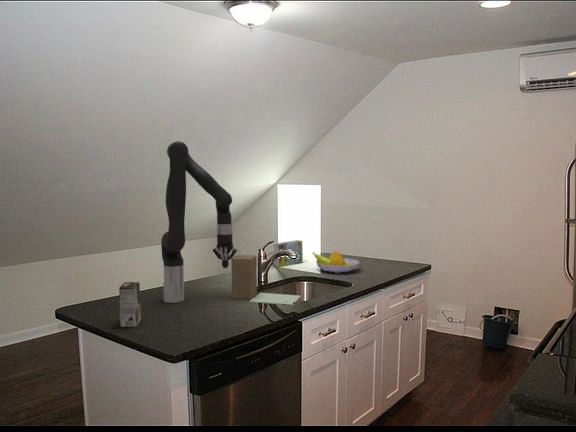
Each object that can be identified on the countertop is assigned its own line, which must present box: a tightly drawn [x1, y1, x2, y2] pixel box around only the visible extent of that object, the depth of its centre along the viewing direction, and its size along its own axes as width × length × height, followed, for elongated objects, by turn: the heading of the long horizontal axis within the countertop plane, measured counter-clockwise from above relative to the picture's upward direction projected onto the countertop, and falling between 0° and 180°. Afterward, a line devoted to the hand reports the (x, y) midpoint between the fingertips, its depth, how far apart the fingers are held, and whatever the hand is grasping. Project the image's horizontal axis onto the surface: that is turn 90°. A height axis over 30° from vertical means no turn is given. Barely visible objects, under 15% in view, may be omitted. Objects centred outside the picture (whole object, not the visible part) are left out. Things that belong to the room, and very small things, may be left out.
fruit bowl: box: [312, 251, 360, 274], centre depth 302 cm, size 28×27×11 cm
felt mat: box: [248, 292, 302, 306], centre depth 236 cm, size 16×21×1 cm
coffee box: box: [118, 281, 142, 328], centre depth 199 cm, size 9×6×16 cm
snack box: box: [273, 239, 304, 268], centre depth 322 cm, size 21×6×15 cm, turn 133°
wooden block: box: [230, 254, 258, 301], centre depth 239 cm, size 10×10×20 cm
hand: (225, 267), depth 242 cm, fingers closed
